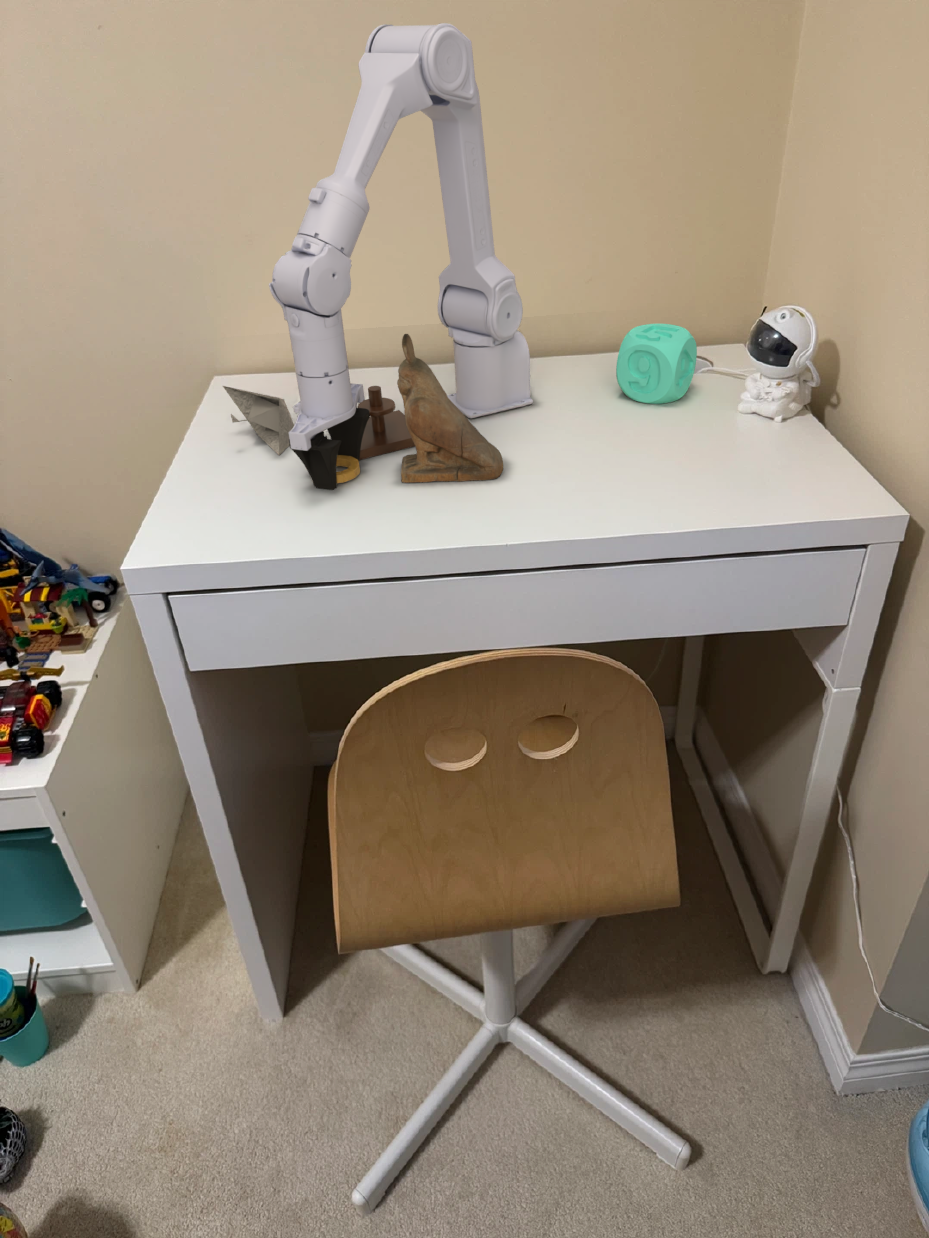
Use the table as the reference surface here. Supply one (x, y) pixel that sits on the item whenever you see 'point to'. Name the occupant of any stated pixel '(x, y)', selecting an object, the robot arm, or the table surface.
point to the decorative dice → (656, 363)
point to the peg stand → (383, 426)
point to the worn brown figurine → (440, 430)
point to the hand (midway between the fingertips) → (338, 481)
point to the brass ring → (347, 473)
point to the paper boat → (264, 416)
